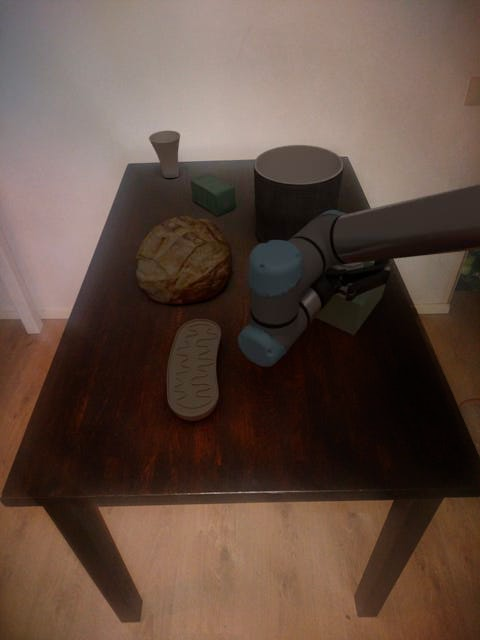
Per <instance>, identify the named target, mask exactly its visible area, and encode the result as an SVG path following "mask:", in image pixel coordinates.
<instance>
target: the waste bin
mask: <svg viewBox="0 0 480 640" xmlns="http://www.w3.org/2000/svg"><path fill="white" fill-rule="evenodd" d="M374 262H375V261H368V262H363V267H369V266H374ZM391 268H392V267H391V266H389V265H388V266H387V268H386V269H385V270H389V271H391ZM386 285H387V284H385V285H382V286H380V287H377V288H375V289H372V290H370V291H367V292H365V293H362V294H360V295H358V296H356V297H355V299H353V300H352V301H347V300H346V296H345V295H342V294H340V293H337V294H335V295H333V297H332V298H331V300H330V301H329V302H328V303H327V304H326V305H325V307H324V308H323V309H322V310H321V311H320V312H319V314H318V315H317V316H316V317H315V318H316V319H318V320H320V321H321V322H323V323H325V324H329V326H330V325H331V326H333V327H335V328H336V329H339V330H340V331H343V332H345V333H347V334H349V335H352V336H355V335H356V334H357V332H358V331H359V330H360V328H361V327H362V325H363V324H364V322H365V321H366V320H367V318H368V317H369V315H370V314H371V313H372V311H373V310H374V309H375V307H376V306H377V304H378V303H379V302H380V301H381V299H382V298H383V295H384V291H385V288H386ZM315 318H314V319H315Z"/></svg>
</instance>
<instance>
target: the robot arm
mask: <svg viewBox="0 0 480 640" xmlns="http://www.w3.org/2000/svg"><path fill="white" fill-rule="evenodd" d="M468 251H469V252H470V251H471V252H472V251H480V183H476V184H472V185H467V186H462V187H459V188H454V189H450V190H446V191H441V192H437V193H433V194H428V195H423V196H420V197H415V198H411V199H407V200H403V201H399V202H394V203H390V204H386V205H380V206H376V207H372V208H368V209H363V210H359V211H354V212H351V213H346V212H343V211H340V210H338V209H337V210H329V211H326V212H324V213H322V214H321V215H319V216H317V217H315V218H314V219H313V220H312V221H310V222H309V223H308V224H307V225H306V226H305V227H304V228H303V229H301V230H300V231H299V232H298V233H297V234H296V235H294V236H293V237H292V238H291V239H289V240H288V241H283V240H271V241H269V242H268V243H261V242H260V243H259V244H258V245H256V246H254V247H253V249H252V250H251V251H250V254H249V257H248V271H247V283H248V292H249V293H248V294H249V323H248V324H247V325H244V326H243V328H242V330H241V332H239V334H238V336H237V343H238V347H239V349H240V351H241V353H242V354H243V355H244V356H245V358H247V359H248V360H249V361H250V362H252V363H254V364H256V365H257V366H260V367H265V368H269V367H272V366H274V365H275V364H276V363H278V362H279V361H280V359H281V358H283V356H286V355H287V353H288V351H289V349H290V348H291V347H292V346H293V344H295V342H296V341H297V340H298V339H299V338H300V336H301V335H302V334H303V332H305V330H306V329H307V328H308V327H309V325H310V324H312V322H313V321H314V320H315V317H316V316H317V315H318V314H319V312H320V311H321V310H322V309H323V308H324V307H325V305H326V304H327V303H328V302H329V301H330V300H331V298H332V297H333V295H335V294H337V293H341V294H343V295H345V296H346V300H347V301H352V300H353V299H354V298H355V297H356V296H358V295H360V294H362V293H365V292H367V291H370V290H372V289H375V288H377V287H380V286H382V285H385V284H386V285H387V284H388V282H389V281H390V280H389V279H390V277H391V273H392V272H391V270H390V271H389V270H385V269H386V268H387V266H389V264H390V263H389V262H390V260H395V259H405V258H414V257H422V256H423V257H425V256H433V255H442V254H452V253H453V254H454V253H461V252H468ZM368 261H375V262H374V266H369V267H363V268H358V269H352V270H346V269H341V270H337V269H335V268H332V267H331V266H335V265H343V264H351V263H358V262H368ZM340 276H342V278H340ZM352 283H353V284H352ZM348 284H349V285H348ZM347 285H348V286H347ZM386 285H385V286H386Z"/></svg>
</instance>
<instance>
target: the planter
mask: <svg viewBox="0 0 480 640" xmlns="http://www.w3.org/2000/svg"><path fill="white" fill-rule="evenodd" d="M344 163H345V162H344V160H343V159H342V158H341V156H340V155H339V154H337V153H336V152H334V151H332V150H330V149H327V148H324V147H320V146H315V145H307V144H291V145H290V144H289V145H283V146H277V147H273V148H271V149H268V150H265V151H263V152H262V153H261V154H259V155H258V156H257V157H256V158H255V159H254V162H253V182H254V183H253V185H254V186H253V187H254V188H253V189H254V216H255V217H254V219H255V236H256V238H257V240H258V241H259V242H260V244H261V243H268V242H269V241H271V240H283V241H288V240H289V239H291V238H292V237H293V236H294V235H296V234H297V233H298V232H299V231H300V230H301V229H303V228H304V227H305V226H306V225H307V224H308V223H309V222H310V221H312V220H313V219H314V218H315V217H317V216H319V215H321V214H322V213H324V212H326V211H329V210H337V211H338V204H339V198H340V192H341V186H342V181H343V180H342V178H343V173H344V168H345V167H344V166H345V164H344Z"/></svg>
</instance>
